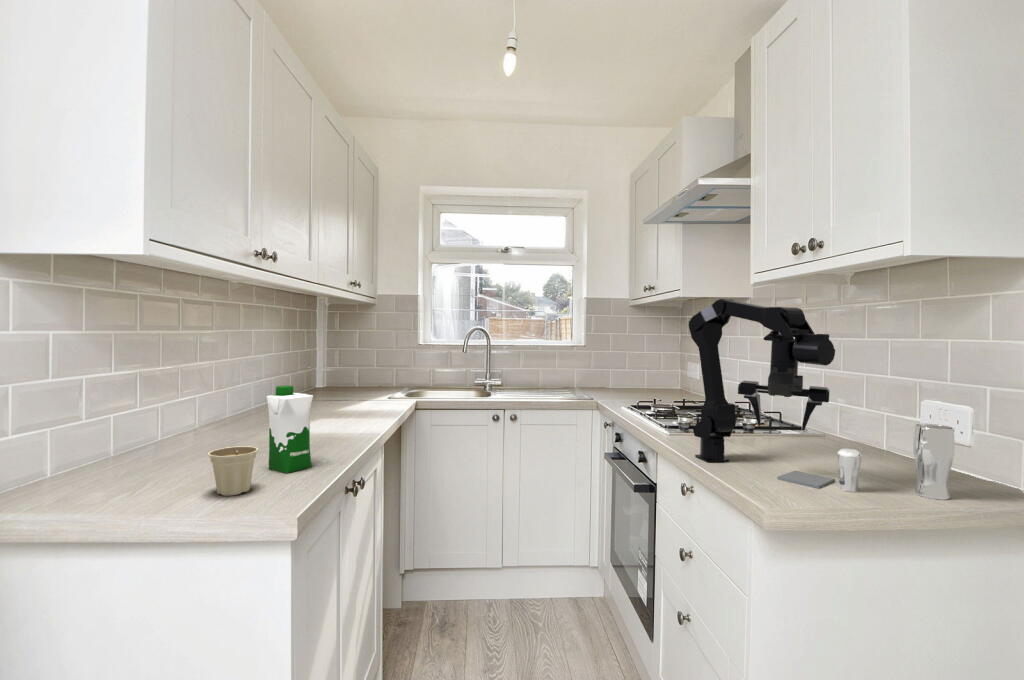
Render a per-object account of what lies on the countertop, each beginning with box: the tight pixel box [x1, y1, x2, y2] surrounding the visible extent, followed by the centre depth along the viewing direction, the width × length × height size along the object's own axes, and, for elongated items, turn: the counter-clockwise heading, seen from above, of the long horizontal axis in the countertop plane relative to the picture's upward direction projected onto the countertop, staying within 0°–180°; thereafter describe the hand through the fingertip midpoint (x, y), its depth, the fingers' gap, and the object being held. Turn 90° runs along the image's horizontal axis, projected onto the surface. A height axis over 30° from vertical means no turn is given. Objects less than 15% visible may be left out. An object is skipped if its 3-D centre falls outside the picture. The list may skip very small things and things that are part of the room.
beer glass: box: [912, 423, 956, 501], centre depth 115 cm, size 7×7×15 cm
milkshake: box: [837, 447, 864, 493], centre depth 118 cm, size 4×5×10 cm
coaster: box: [777, 469, 836, 489], centre depth 126 cm, size 9×9×1 cm
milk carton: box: [266, 385, 314, 474], centre depth 131 cm, size 9×9×20 cm
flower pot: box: [207, 445, 259, 497], centre depth 113 cm, size 9×9×9 cm
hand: (780, 427), depth 125 cm, fingers open, 9 cm apart
